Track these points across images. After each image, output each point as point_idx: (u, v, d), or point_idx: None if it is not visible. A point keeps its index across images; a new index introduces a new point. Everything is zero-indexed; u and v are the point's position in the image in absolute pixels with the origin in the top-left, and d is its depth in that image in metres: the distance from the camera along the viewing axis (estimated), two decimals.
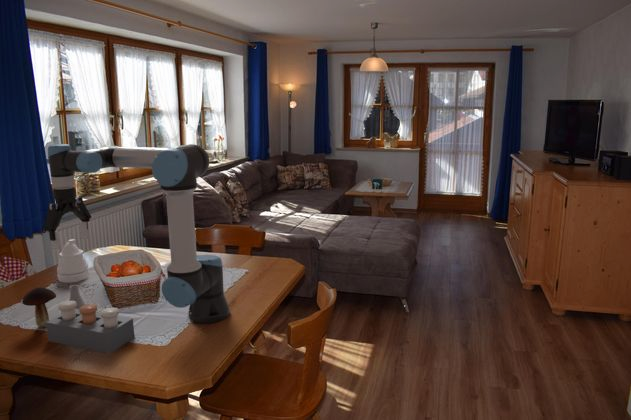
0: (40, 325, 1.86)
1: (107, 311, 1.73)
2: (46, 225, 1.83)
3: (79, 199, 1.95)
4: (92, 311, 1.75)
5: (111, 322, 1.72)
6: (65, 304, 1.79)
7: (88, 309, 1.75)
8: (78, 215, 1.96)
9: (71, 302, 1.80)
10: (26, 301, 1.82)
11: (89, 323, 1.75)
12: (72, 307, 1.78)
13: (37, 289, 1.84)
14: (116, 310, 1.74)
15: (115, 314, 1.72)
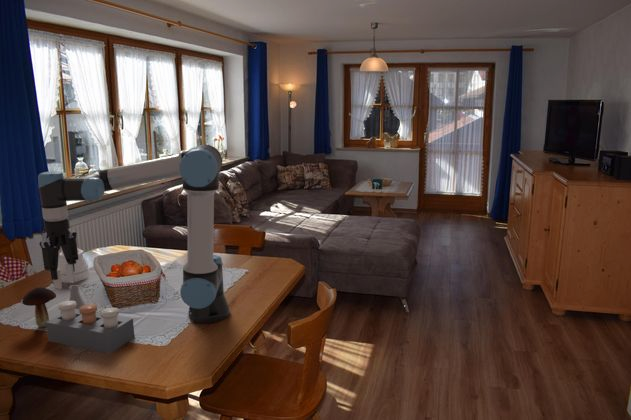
0: (40, 325, 1.86)
1: (107, 311, 1.73)
2: (46, 265, 1.70)
3: (73, 234, 1.78)
4: (92, 311, 1.75)
5: (111, 322, 1.72)
6: (65, 304, 1.79)
7: (88, 309, 1.75)
8: (66, 253, 1.77)
9: (71, 302, 1.80)
10: (26, 301, 1.82)
11: (89, 323, 1.75)
12: (72, 307, 1.78)
13: (37, 289, 1.84)
14: (116, 310, 1.74)
15: (115, 314, 1.72)
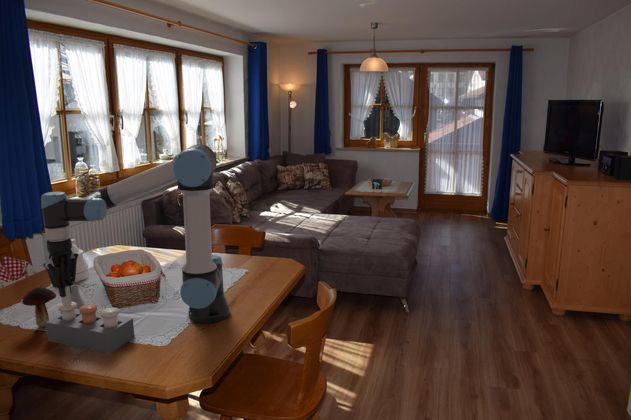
0: (40, 325, 1.86)
1: (107, 311, 1.73)
2: (54, 283, 1.73)
3: (74, 255, 1.80)
4: (92, 311, 1.75)
5: (111, 322, 1.72)
6: (65, 305, 1.79)
7: (88, 309, 1.75)
8: (65, 274, 1.77)
9: None
10: (26, 301, 1.82)
11: (89, 323, 1.75)
12: (72, 308, 1.78)
13: (37, 289, 1.84)
14: (116, 310, 1.74)
15: (115, 314, 1.72)
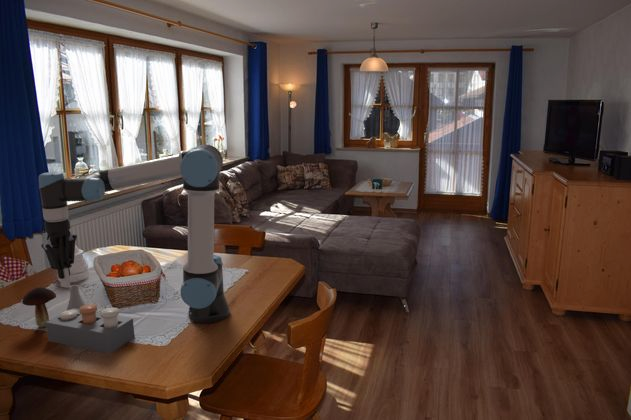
0: (40, 325, 1.86)
1: (107, 311, 1.73)
2: (52, 264, 1.72)
3: (73, 236, 1.78)
4: (92, 311, 1.75)
5: (111, 322, 1.72)
6: (66, 313, 1.80)
7: (88, 309, 1.75)
8: (63, 255, 1.76)
9: (72, 311, 1.81)
10: (26, 301, 1.82)
11: (89, 323, 1.75)
12: (73, 316, 1.79)
13: (37, 289, 1.84)
14: (116, 310, 1.74)
15: (115, 314, 1.72)
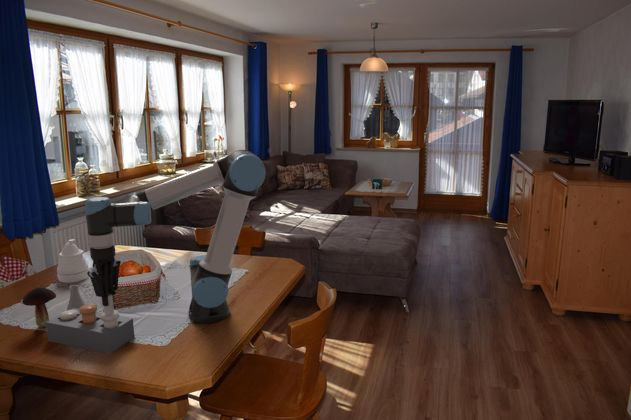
0: (40, 325, 1.86)
1: (108, 314, 1.73)
2: (97, 292, 1.68)
3: (117, 262, 1.74)
4: (92, 311, 1.75)
5: (111, 325, 1.72)
6: (66, 313, 1.80)
7: (88, 309, 1.75)
8: (107, 282, 1.71)
9: (72, 311, 1.81)
10: (26, 301, 1.82)
11: (89, 323, 1.75)
12: (73, 316, 1.79)
13: (37, 289, 1.84)
14: (116, 313, 1.74)
15: (115, 317, 1.72)
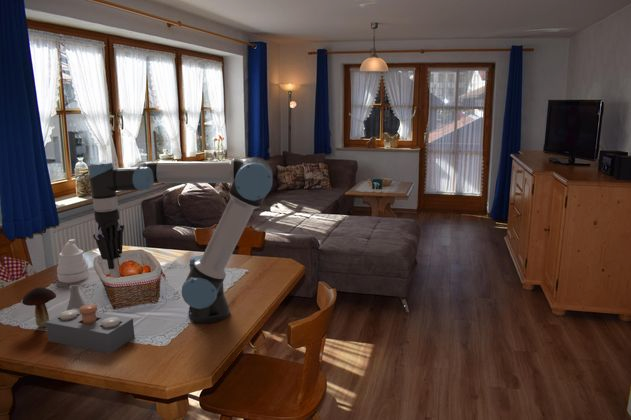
0: (40, 325, 1.86)
1: (109, 320, 1.74)
2: (103, 255, 1.71)
3: (121, 226, 1.78)
4: (92, 311, 1.75)
5: None
6: (66, 313, 1.80)
7: (88, 309, 1.75)
8: (112, 246, 1.75)
9: (72, 311, 1.81)
10: (26, 301, 1.82)
11: (89, 323, 1.75)
12: (73, 316, 1.79)
13: (37, 289, 1.84)
14: (117, 320, 1.74)
15: (116, 324, 1.73)
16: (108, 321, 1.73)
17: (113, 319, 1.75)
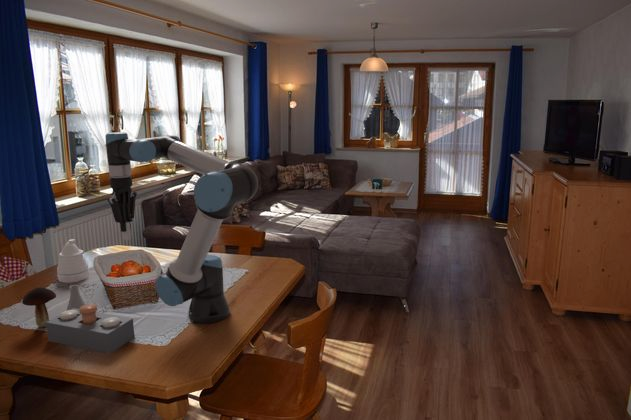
0: (40, 325, 1.86)
1: (109, 320, 1.74)
2: (116, 218, 1.86)
3: (133, 193, 1.93)
4: (92, 311, 1.75)
5: None
6: (66, 313, 1.80)
7: (88, 309, 1.75)
8: (125, 210, 1.90)
9: (72, 311, 1.81)
10: (26, 301, 1.82)
11: (89, 323, 1.75)
12: (73, 316, 1.79)
13: (37, 289, 1.84)
14: (117, 320, 1.74)
15: (116, 324, 1.73)
16: (108, 321, 1.73)
17: (113, 319, 1.75)
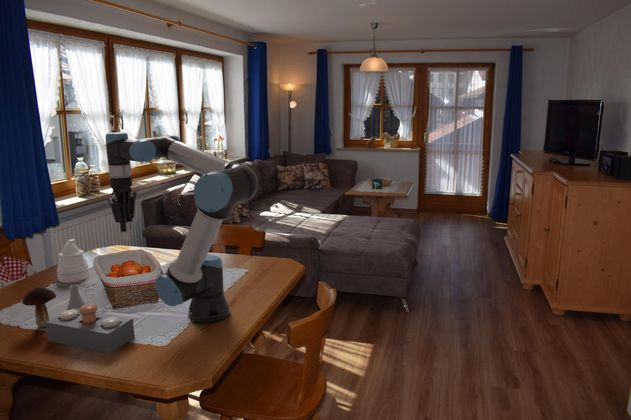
0: (40, 325, 1.86)
1: (109, 320, 1.74)
2: (116, 218, 1.86)
3: (133, 193, 1.93)
4: (92, 311, 1.75)
5: None
6: (66, 313, 1.80)
7: (88, 309, 1.75)
8: (125, 210, 1.90)
9: (72, 311, 1.81)
10: (26, 301, 1.82)
11: (89, 323, 1.75)
12: (73, 316, 1.79)
13: (37, 289, 1.84)
14: (117, 320, 1.74)
15: (116, 324, 1.73)
16: (108, 321, 1.73)
17: (113, 319, 1.75)
